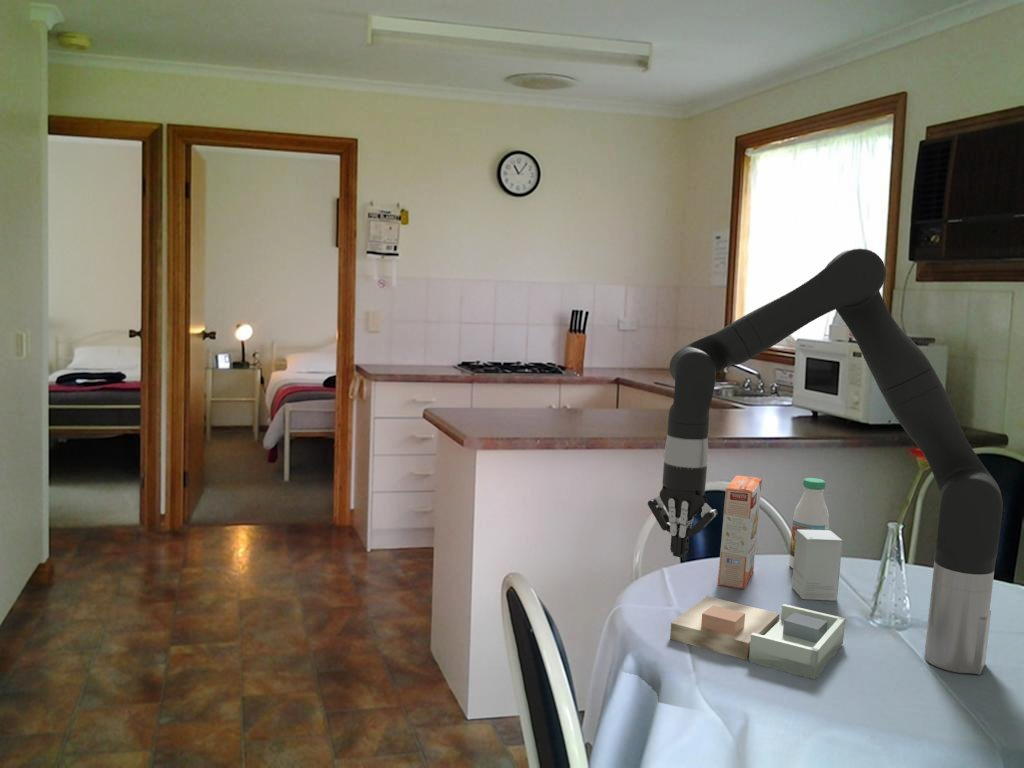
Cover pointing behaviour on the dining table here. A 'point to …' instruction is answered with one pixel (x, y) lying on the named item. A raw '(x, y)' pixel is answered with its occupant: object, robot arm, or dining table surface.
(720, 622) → the terracotta tile
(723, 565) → the cracker box
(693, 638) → the plate
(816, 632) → the slate tile
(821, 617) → the box
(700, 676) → the dining table surface
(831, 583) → the supplement box
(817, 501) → the milk bottle
